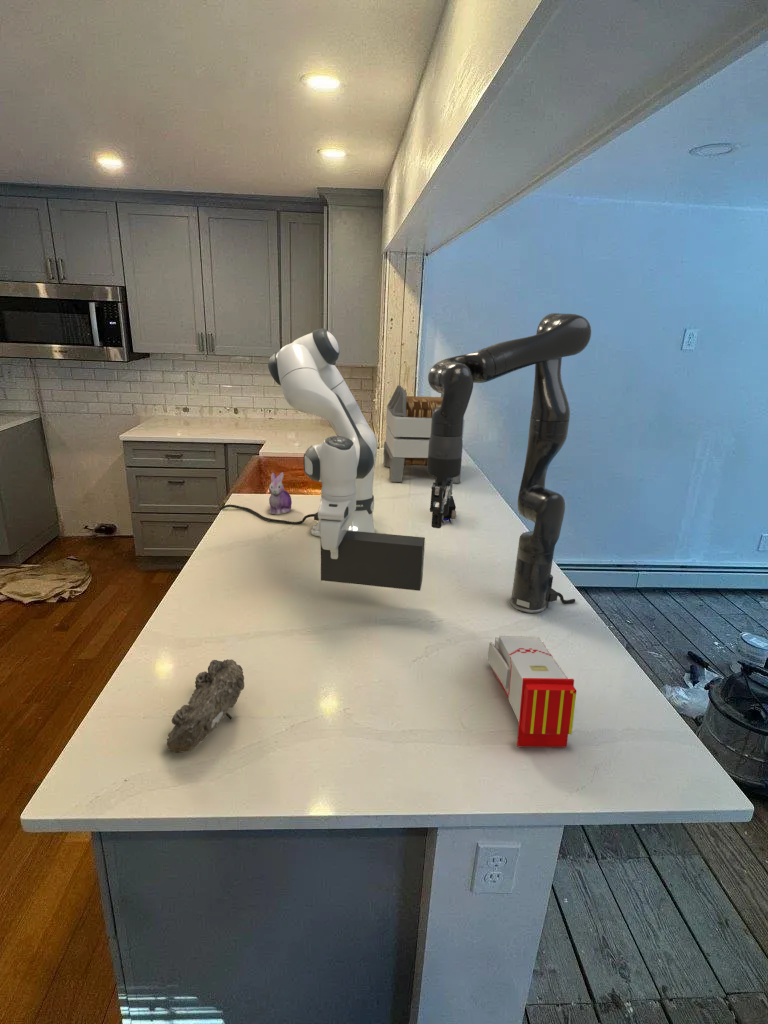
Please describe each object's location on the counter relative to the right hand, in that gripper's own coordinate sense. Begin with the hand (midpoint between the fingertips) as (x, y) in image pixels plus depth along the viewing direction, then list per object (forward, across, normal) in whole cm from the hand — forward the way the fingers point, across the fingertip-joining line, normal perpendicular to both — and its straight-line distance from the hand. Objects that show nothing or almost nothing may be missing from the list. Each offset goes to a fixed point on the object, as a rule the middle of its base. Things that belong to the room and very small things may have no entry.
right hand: (439, 521), depth 132 cm
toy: (+29, -21, -23) cm, 43 cm away
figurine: (+28, +62, +72) cm, 99 cm away
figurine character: (+29, +79, +11) cm, 85 cm away
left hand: (+14, +4, +27) cm, 31 cm away
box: (+21, +5, +18) cm, 28 cm away
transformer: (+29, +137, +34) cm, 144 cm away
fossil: (+28, -46, +33) cm, 64 cm away
